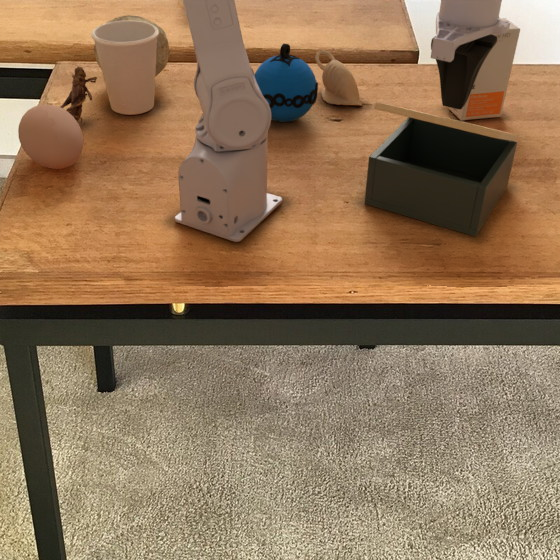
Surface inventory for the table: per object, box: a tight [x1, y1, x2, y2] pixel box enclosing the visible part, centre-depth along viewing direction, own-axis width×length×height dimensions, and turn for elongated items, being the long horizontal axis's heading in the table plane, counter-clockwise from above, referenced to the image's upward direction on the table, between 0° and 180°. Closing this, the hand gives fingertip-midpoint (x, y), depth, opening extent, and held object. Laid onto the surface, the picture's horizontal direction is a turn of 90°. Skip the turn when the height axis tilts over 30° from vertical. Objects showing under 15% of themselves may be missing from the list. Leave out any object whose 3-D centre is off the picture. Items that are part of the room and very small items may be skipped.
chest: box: [364, 117, 518, 238], centre depth 84 cm, size 12×13×6 cm
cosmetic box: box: [447, 17, 521, 122], centre depth 100 cm, size 6×4×12 cm
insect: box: [59, 64, 98, 126], centre depth 97 cm, size 4×8×5 cm
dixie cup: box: [90, 20, 159, 116], centre depth 100 cm, size 8×8×10 cm
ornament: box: [254, 43, 319, 123], centre depth 98 cm, size 9×9×10 cm
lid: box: [373, 101, 520, 142], centre depth 81 cm, size 12×13×1 cm
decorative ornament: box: [314, 49, 363, 107], centre depth 105 cm, size 4×8×5 cm, turn 23°
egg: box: [17, 103, 84, 170], centre depth 88 cm, size 7×7×10 cm
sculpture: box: [93, 14, 170, 78], centre depth 105 cm, size 10×4×10 cm, turn 95°
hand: (453, 105), depth 81 cm, fingers closed
